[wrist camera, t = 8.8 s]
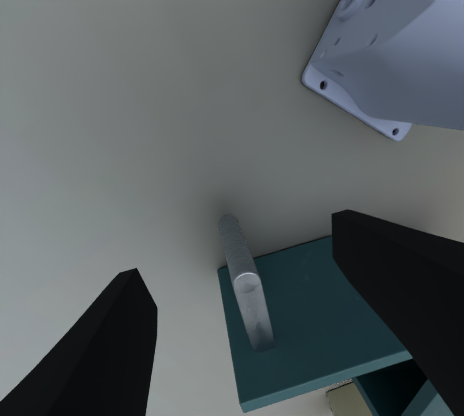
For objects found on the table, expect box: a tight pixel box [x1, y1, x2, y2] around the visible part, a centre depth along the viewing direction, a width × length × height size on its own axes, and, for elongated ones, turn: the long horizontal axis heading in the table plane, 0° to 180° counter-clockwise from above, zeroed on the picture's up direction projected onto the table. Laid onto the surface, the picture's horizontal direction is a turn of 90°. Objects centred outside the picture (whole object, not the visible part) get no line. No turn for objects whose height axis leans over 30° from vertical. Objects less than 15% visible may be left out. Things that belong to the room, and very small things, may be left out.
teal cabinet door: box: [218, 215, 413, 413], centre depth 16 cm, size 7×13×10 cm, turn 103°
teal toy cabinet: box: [352, 358, 454, 416], centre depth 21 cm, size 8×13×11 cm, turn 174°
